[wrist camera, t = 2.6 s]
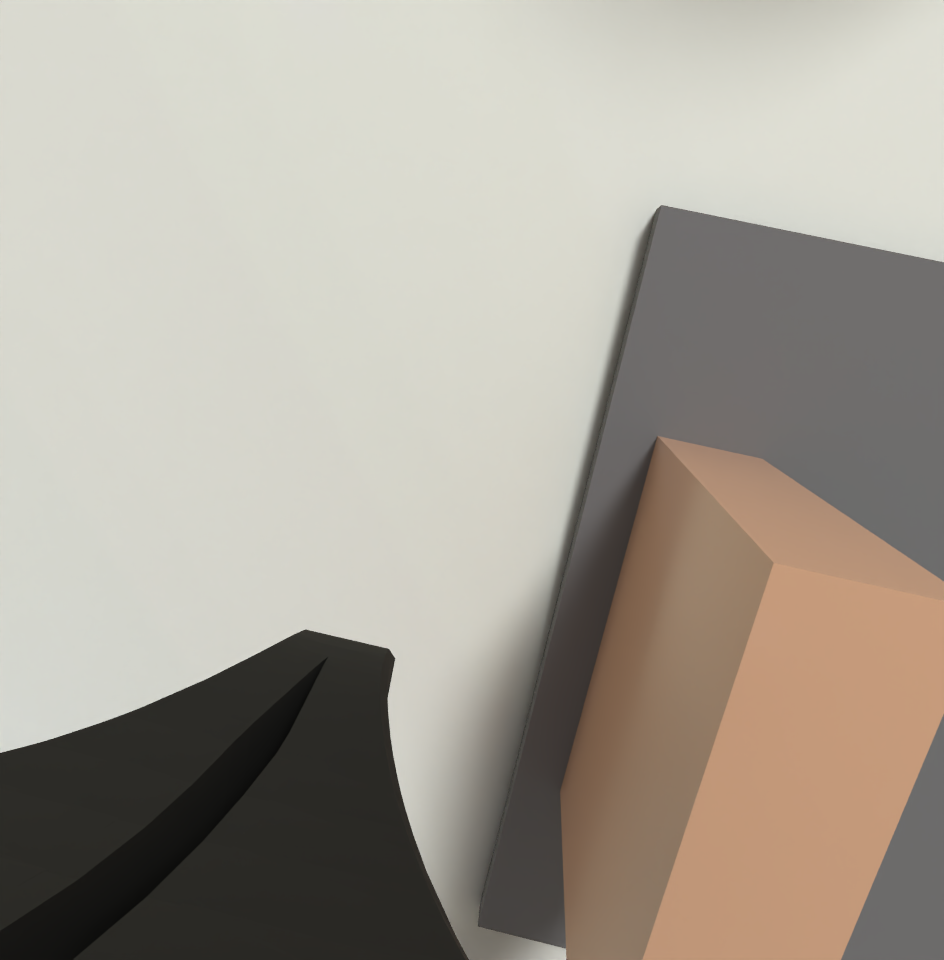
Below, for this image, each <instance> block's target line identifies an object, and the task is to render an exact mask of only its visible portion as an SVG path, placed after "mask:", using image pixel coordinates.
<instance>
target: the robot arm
mask: <svg viewBox="0 0 944 960" xmlns="http://www.w3.org/2000/svg"><path fill="white" fill-rule="evenodd" d="M394 661H395V658H394V656H393V655H392V653H391V651H390V650H389V649H387V648H382V647H378V646H374V645H369V644H365V643H361V642H357V641H352V640H348V639H344V638H339V637H335V636H331V635H326V634H322V633H318V632H314V631H309V630H303V631H301V632H299V633H297V634H294V635H292V636H290V637H289V638H287V639H285V640H283V641H281V642H279V643H277V644H275V645H273V646H271V647H269V648H267V649H265V650H264V651H262V652H260V653H258V654H256V655H254V656H252V657H250V658H248V659H246V660H244V661H242V662H240V663H238V664H236V665H234V666H232V667H230V668H228V669H226V670H224V671H222V672H220V673H218V674H216V675H214V676H212V677H210V678H208V679H206V680H204V681H201V682H199V683H197V684H194V685H192V686H190V687H188V688H185V689H183V690H181V691H178V692H176V693H174V694H172V695H169V696H167V697H165V698H162V699H160V700H158V701H156V702H153V703H151V704H149V705H146V706H144V707H142V708H139V709H137V710H134V711H132V712H129V713H126V714H124V715H121V716H118V717H116V718H113V719H110V720H108V721H105V722H102V723H99V724H96V725H93V726H90V727H87V728H84V729H81V730H78V731H75V732H72V733H69V734H66V735H63V736H60V737H57V738H54V739H50V740H47V741H44V742H40V743H37V744H33V745H29V746H25V747H22V748H18V749H14V750H10V751H6V752H2V753H0V960H469V959H468V958H467V956H466V954H465V952H464V950H463V948H462V947H461V945H460V943H459V941H458V939H457V937H456V935H455V933H454V931H453V929H452V927H451V924H450V922H449V920H448V918H447V916H446V913H445V911H444V909H443V907H442V905H441V902H440V900H439V898H438V896H437V894H436V891H435V889H434V887H433V885H432V883H431V880H430V878H429V876H428V874H427V871H426V869H425V866H424V864H423V861H422V858H421V855H420V852H419V850H418V847H417V844H416V841H415V839H414V836H413V833H412V830H411V826H410V823H409V820H408V817H407V813H406V810H405V807H404V803H403V799H402V795H401V791H400V787H399V783H398V778H397V773H396V768H395V763H394V758H393V752H392V745H391V739H390V728H389V718H388V701H387V698H388V692H389V687H390V682H391V677H392V672H393V667H394Z"/></svg>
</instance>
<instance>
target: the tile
mask: <svg viewBox="0 0 944 960" xmlns="http://www.w3.org/2000/svg"><path fill="white" fill-rule="evenodd" d="M943 714H944V581H942V580H941V579H939V578H938V577H937V576H935V575H934V574H932V573H931V572H929V571H928V570H926V569H925V568H923V567H922V566H920V565H919V564H917V563H916V562H914V561H913V560H911V559H910V558H908V557H907V556H905V555H904V554H903V553H901V552H900V551H898V550H897V549H895V548H894V547H892V546H891V545H889V544H888V543H886V542H885V541H883V540H882V539H880V538H879V537H877V536H876V535H874V534H873V533H871V532H870V531H868V530H867V529H866V528H864V527H863V526H861V525H860V524H858V523H857V522H855V521H854V520H852V519H851V518H849V517H848V516H846V515H845V514H843V513H842V512H840V511H839V510H837V509H836V508H834V507H833V506H831V505H830V504H829V503H827V502H826V501H824V500H823V499H821V498H820V497H818V496H817V495H815V494H814V493H812V492H811V491H809V490H808V489H806V488H805V487H803V486H802V485H800V484H799V483H797V482H796V481H795V480H793V479H792V478H790V477H789V476H787V475H786V474H784V473H783V472H781V471H780V470H778V469H777V468H775V467H774V466H772V465H771V464H769V463H768V462H766V461H765V460H763V459H761V458H756V457H752V456H747V455H743V454H738V453H734V452H729V451H724V450H720V449H715V448H711V447H706V446H701V445H697V444H692V443H688V442H683V441H678V440H674V439H669V438H665V437H660V436H657V440H656V443H655V447H654V451H653V454H652V458H651V462H650V465H649V469H648V473H647V476H646V480H645V484H644V487H643V491H642V495H641V498H640V502H639V505H638V509H637V513H636V516H635V520H634V524H633V527H632V531H631V535H630V538H629V542H628V546H627V549H626V553H625V557H624V560H623V564H622V567H621V571H620V575H619V578H618V582H617V586H616V589H615V593H614V597H613V600H612V604H611V608H610V611H609V615H608V619H607V622H606V626H605V629H604V633H603V637H602V640H601V644H600V648H599V651H598V655H597V659H596V662H595V666H594V670H593V673H592V677H591V681H590V684H589V688H588V691H587V695H586V699H585V702H584V706H583V710H582V713H581V717H580V721H579V724H578V728H577V732H576V735H575V739H574V743H573V746H572V750H571V753H570V757H569V761H568V764H567V768H566V772H565V775H564V779H563V783H562V786H561V790H560V800H561V827H562V853H563V880H564V907H565V933H566V960H841V958H842V956H843V954H844V951H845V949H846V946H847V944H848V942H849V939H850V937H851V934H852V932H853V930H854V927H855V925H856V922H857V920H858V918H859V915H860V913H861V911H862V908H863V906H864V903H865V901H866V899H867V896H868V894H869V891H870V889H871V887H872V884H873V882H874V879H875V877H876V875H877V872H878V870H879V867H880V865H881V863H882V860H883V858H884V856H885V853H886V851H887V848H888V846H889V844H890V841H891V839H892V836H893V834H894V832H895V829H896V827H897V824H898V822H899V820H900V817H901V815H902V812H903V810H904V808H905V805H906V803H907V801H908V798H909V796H910V793H911V791H912V789H913V786H914V784H915V781H916V779H917V777H918V774H919V772H920V769H921V767H922V765H923V762H924V760H925V757H926V755H927V753H928V750H929V748H930V745H931V743H932V741H933V738H934V736H935V734H936V731H937V729H938V726H939V724H940V722H941V719H942V717H943Z"/></svg>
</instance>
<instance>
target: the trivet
mask: <svg viewBox="0 0 944 960" xmlns="http://www.w3.org/2000/svg"><path fill="white" fill-rule="evenodd" d="M657 436H660V437H665V438H669V439H674V440H678V441H683V442H688V443H692V444H697V445H701V446H706V447H711V448H715V449H720V450H724V451H729V452H734V453H738V454H743V455H747V456H752V457H756V458H761V459H763V460H765V461H766V462H768V463H769V464H771V465H772V466H774V467H775V468H777V469H778V470H780V471H781V472H783V473H784V474H786V475H787V476H789V477H790V478H792V479H793V480H795V481H796V482H797V483H799V484H800V485H802V486H803V487H805V488H806V489H808V490H809V491H811V492H812V493H814V494H815V495H817V496H818V497H820V498H821V499H823V500H824V501H826V502H827V503H829V504H830V505H831V506H833V507H834V508H836V509H837V510H839V511H840V512H842V513H843V514H845V515H846V516H848V517H849V518H851V519H852V520H854V521H855V522H857V523H858V524H860V525H861V526H863V527H864V528H866V529H867V530H868V531H870V532H871V533H873V534H874V535H876V536H877V537H879V538H880V539H882V540H883V541H885V542H886V543H888V544H889V545H891V546H892V547H894V548H895V549H897V550H898V551H900V552H901V553H903V554H904V555H905V556H907V557H908V558H910V559H911V560H913V561H914V562H916V563H917V564H919V565H920V566H922V567H923V568H925V569H926V570H928V571H929V572H931V573H932V574H934V575H935V576H937V577H938V578H939V579H941V580H942V581H944V262H939V261H934V260H929V259H924V258H919V257H914V256H909V255H904V254H899V253H895V252H890V251H885V250H880V249H875V248H870V247H865V246H860V245H855V244H850V243H845V242H840V241H835V240H831V239H826V238H821V237H816V236H811V235H806V234H801V233H796V232H791V231H786V230H781V229H776V228H771V227H767V226H762V225H757V224H752V223H747V222H742V221H737V220H732V219H727V218H722V217H717V216H712V215H707V214H703V213H698V212H693V211H688V210H683V209H678V208H673V207H668V206H663V205H661V206H660V207H659V208H658V209H657V210H656V213H655V217H654V221H653V225H652V229H651V233H650V237H649V240H648V244H647V248H646V252H645V256H644V260H643V264H642V268H641V272H640V276H639V280H638V284H637V288H636V292H635V296H634V300H633V304H632V308H631V312H630V316H629V319H628V323H627V327H626V331H625V335H624V339H623V343H622V347H621V351H620V355H619V359H618V363H617V367H616V371H615V375H614V379H613V383H612V387H611V391H610V394H609V398H608V402H607V406H606V410H605V414H604V418H603V422H602V426H601V430H600V434H599V438H598V442H597V446H596V450H595V454H594V458H593V462H592V466H591V469H590V473H589V477H588V481H587V485H586V489H585V493H584V497H583V501H582V505H581V509H580V513H579V517H578V521H577V525H576V529H575V533H574V537H573V541H572V545H571V548H570V552H569V556H568V560H567V564H566V568H565V572H564V576H563V580H562V584H561V588H560V592H559V596H558V600H557V604H556V608H555V612H554V616H553V620H552V623H551V627H550V631H549V635H548V639H547V643H546V647H545V651H544V655H543V659H542V663H541V667H540V671H539V675H538V679H537V683H536V687H535V691H534V695H533V698H532V702H531V706H530V710H529V714H528V718H527V722H526V726H525V730H524V734H523V738H522V742H521V746H520V750H519V754H518V758H517V762H516V766H515V770H514V774H513V777H512V781H511V785H510V789H509V793H508V797H507V801H506V805H505V809H504V813H503V817H502V821H501V825H500V829H499V833H498V837H497V841H496V845H495V849H494V852H493V856H492V860H491V864H490V868H489V872H488V876H487V880H486V884H485V888H484V892H483V896H482V900H481V904H480V911H479V921H478V926H479V927H483V928H487V929H491V930H495V931H499V932H503V933H507V934H511V935H515V936H519V937H523V938H526V939H530V940H534V941H538V942H542V943H546V944H550V945H554V946H558V947H562V948H566V933H565V907H564V880H563V853H562V827H561V800H560V790H561V786H562V783H563V779H564V775H565V772H566V768H567V764H568V761H569V757H570V753H571V750H572V746H573V743H574V739H575V735H576V732H577V728H578V724H579V721H580V717H581V713H582V710H583V706H584V702H585V699H586V695H587V691H588V688H589V684H590V681H591V677H592V673H593V670H594V666H595V662H596V659H597V655H598V651H599V648H600V644H601V640H602V637H603V633H604V629H605V626H606V622H607V619H608V615H609V611H610V608H611V604H612V600H613V597H614V593H615V589H616V586H617V582H618V578H619V575H620V571H621V567H622V564H623V560H624V557H625V553H626V549H627V546H628V542H629V538H630V535H631V531H632V527H633V524H634V520H635V516H636V513H637V509H638V505H639V502H640V498H641V495H642V491H643V487H644V484H645V480H646V476H647V473H648V469H649V465H650V462H651V458H652V454H653V451H654V447H655V443H656V440H657ZM841 960H944V714H943V717H942V719H941V722H940V724H939V726H938V729H937V731H936V734H935V736H934V738H933V741H932V743H931V745H930V748H929V750H928V753H927V755H926V757H925V760H924V762H923V765H922V767H921V769H920V772H919V774H918V777H917V779H916V781H915V784H914V786H913V789H912V791H911V793H910V796H909V798H908V801H907V803H906V805H905V808H904V810H903V812H902V815H901V817H900V820H899V822H898V824H897V827H896V829H895V832H894V834H893V836H892V839H891V841H890V844H889V846H888V848H887V851H886V853H885V856H884V858H883V860H882V863H881V865H880V867H879V870H878V872H877V875H876V877H875V879H874V882H873V884H872V887H871V889H870V891H869V894H868V896H867V899H866V901H865V903H864V906H863V908H862V911H861V913H860V915H859V918H858V920H857V922H856V925H855V927H854V930H853V932H852V934H851V937H850V939H849V942H848V944H847V946H846V949H845V951H844V954H843V956H842V958H841Z"/></svg>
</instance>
